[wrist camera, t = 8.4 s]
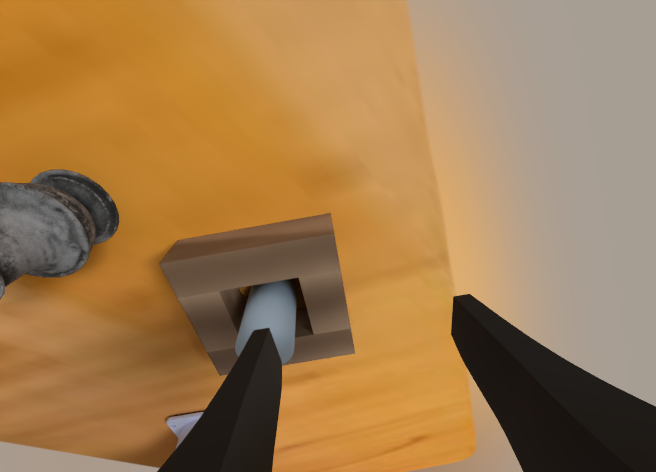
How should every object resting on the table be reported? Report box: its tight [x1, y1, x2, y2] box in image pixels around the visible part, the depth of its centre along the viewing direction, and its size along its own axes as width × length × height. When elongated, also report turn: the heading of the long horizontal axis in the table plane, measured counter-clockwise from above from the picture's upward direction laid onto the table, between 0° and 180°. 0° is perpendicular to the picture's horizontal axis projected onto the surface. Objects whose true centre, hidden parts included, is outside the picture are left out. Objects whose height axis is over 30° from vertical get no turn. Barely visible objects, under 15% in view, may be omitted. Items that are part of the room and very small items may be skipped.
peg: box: [235, 278, 297, 365], centre depth 20 cm, size 4×4×6 cm
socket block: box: [159, 213, 355, 376], centre depth 22 cm, size 11×11×3 cm
